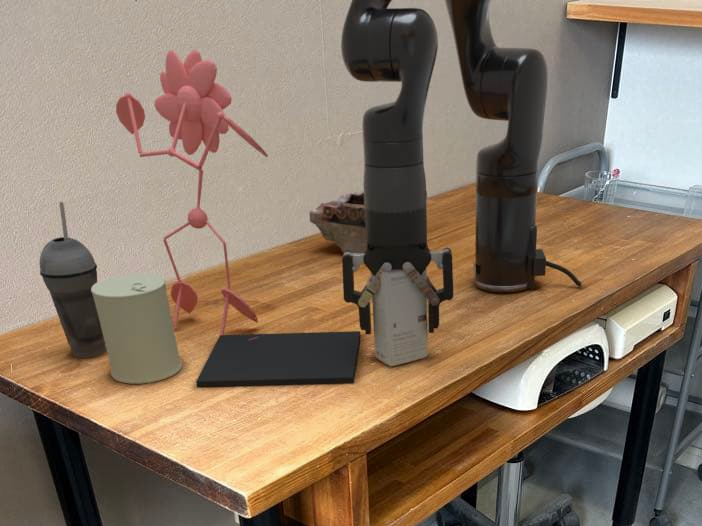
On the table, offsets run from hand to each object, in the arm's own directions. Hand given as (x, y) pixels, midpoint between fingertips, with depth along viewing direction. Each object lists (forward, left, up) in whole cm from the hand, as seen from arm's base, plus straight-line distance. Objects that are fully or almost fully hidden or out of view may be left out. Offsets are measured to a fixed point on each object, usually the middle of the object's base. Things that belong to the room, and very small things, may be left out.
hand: (400, 331), depth 113 cm
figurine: (+26, -16, -3) cm, 31 cm away
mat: (+16, 0, -4) cm, 16 cm away
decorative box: (+8, -48, -4) cm, 49 cm away
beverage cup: (+44, -5, -4) cm, 44 cm away
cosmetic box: (0, 0, -4) cm, 4 cm away
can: (+34, +2, -4) cm, 34 cm away
